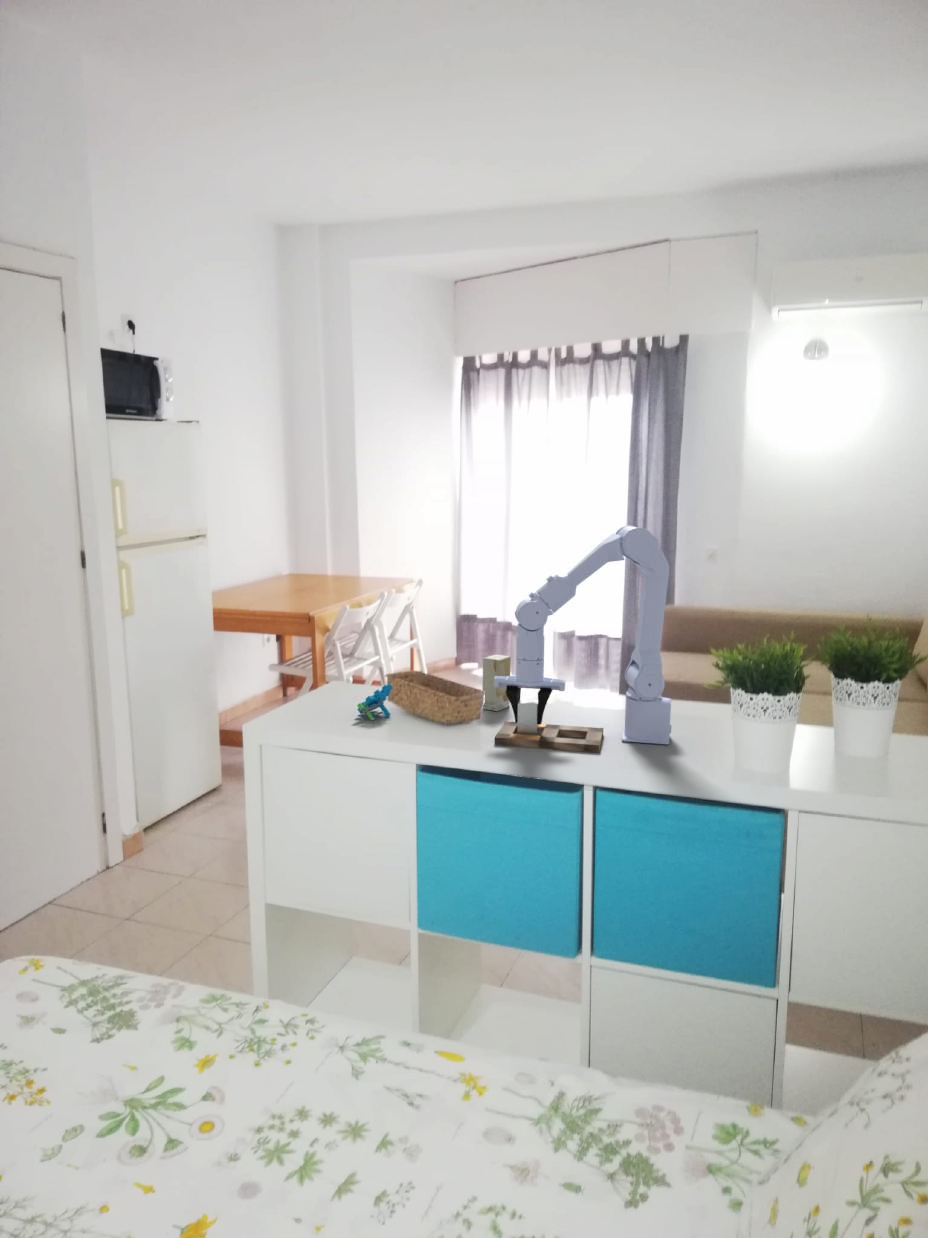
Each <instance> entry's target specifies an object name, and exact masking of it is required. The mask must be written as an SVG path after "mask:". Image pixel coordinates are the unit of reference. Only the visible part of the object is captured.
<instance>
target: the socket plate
mask: <svg viewBox="0 0 928 1238" xmlns="http://www.w3.org/2000/svg"><path fill="white" fill-rule="evenodd" d="M603 737H604V728H603V727H591V726H577V725H576V726H575V725H563V724H562V725H561V724H550V723H549V724H547V723H543V722H542V723H541V724H539V734H538V736H536V735H522V734H517V723H515V721H504V722H503V724H502V726H500V728H499V730H498V732H497V733H496V734H495V736H494V745H495V746H508V747H521V748H533V749H534V748H536V749H546V750H559V749H561V751H573V752H574V751H575V752H585V753H586V752H587V753H598V752H599V753H600V750H601V747H600V746H601V745H602V742H603Z"/></svg>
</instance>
